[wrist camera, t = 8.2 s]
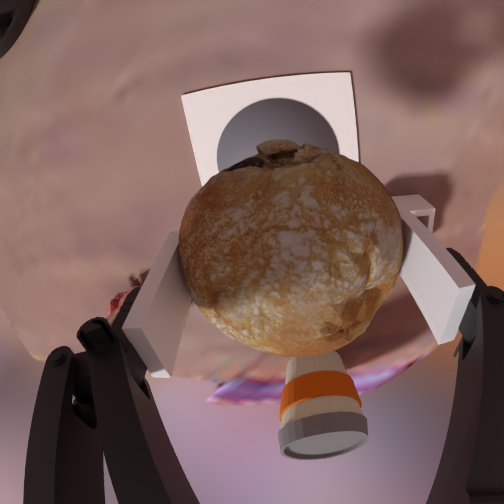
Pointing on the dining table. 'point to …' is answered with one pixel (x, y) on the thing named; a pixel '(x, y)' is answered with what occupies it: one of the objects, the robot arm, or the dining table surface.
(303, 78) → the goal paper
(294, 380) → the reusable coffee cup
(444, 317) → the robot arm
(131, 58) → the dining table surface
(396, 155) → the dining table surface
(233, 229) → the bread roll
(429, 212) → the button housing
